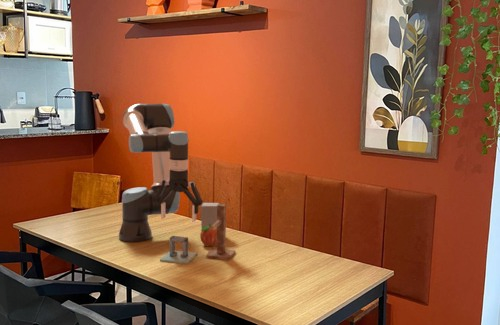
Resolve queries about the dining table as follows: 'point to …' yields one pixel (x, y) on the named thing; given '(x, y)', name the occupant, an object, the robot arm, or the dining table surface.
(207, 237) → the fruit
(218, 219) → the stand
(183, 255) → the c link
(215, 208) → the skincare box
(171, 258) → the coaster
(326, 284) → the dining table surface
